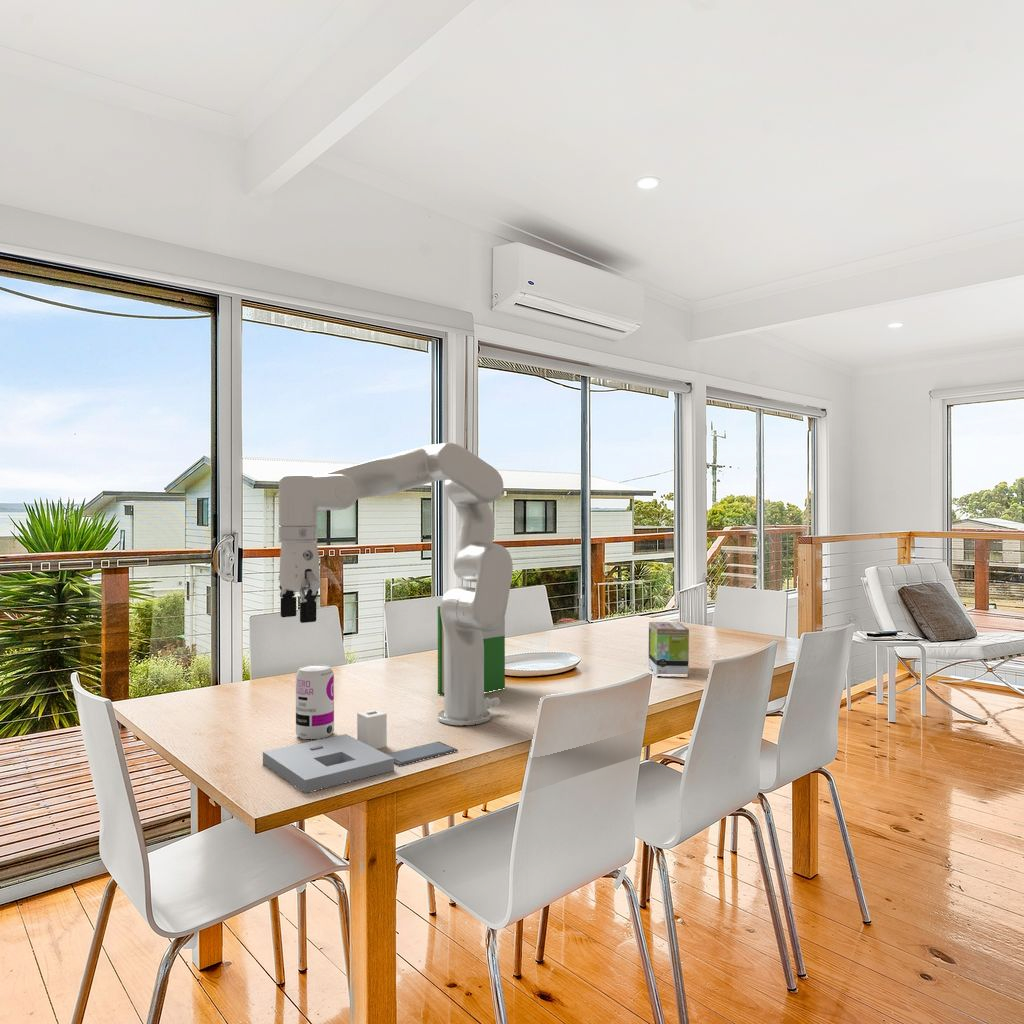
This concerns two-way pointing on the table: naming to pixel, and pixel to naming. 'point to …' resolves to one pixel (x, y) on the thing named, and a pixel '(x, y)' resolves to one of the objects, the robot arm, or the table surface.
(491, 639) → the hardback book
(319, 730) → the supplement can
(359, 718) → the charger block
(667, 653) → the tea box
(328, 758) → the grey peg hole board
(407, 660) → the table surface
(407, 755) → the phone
